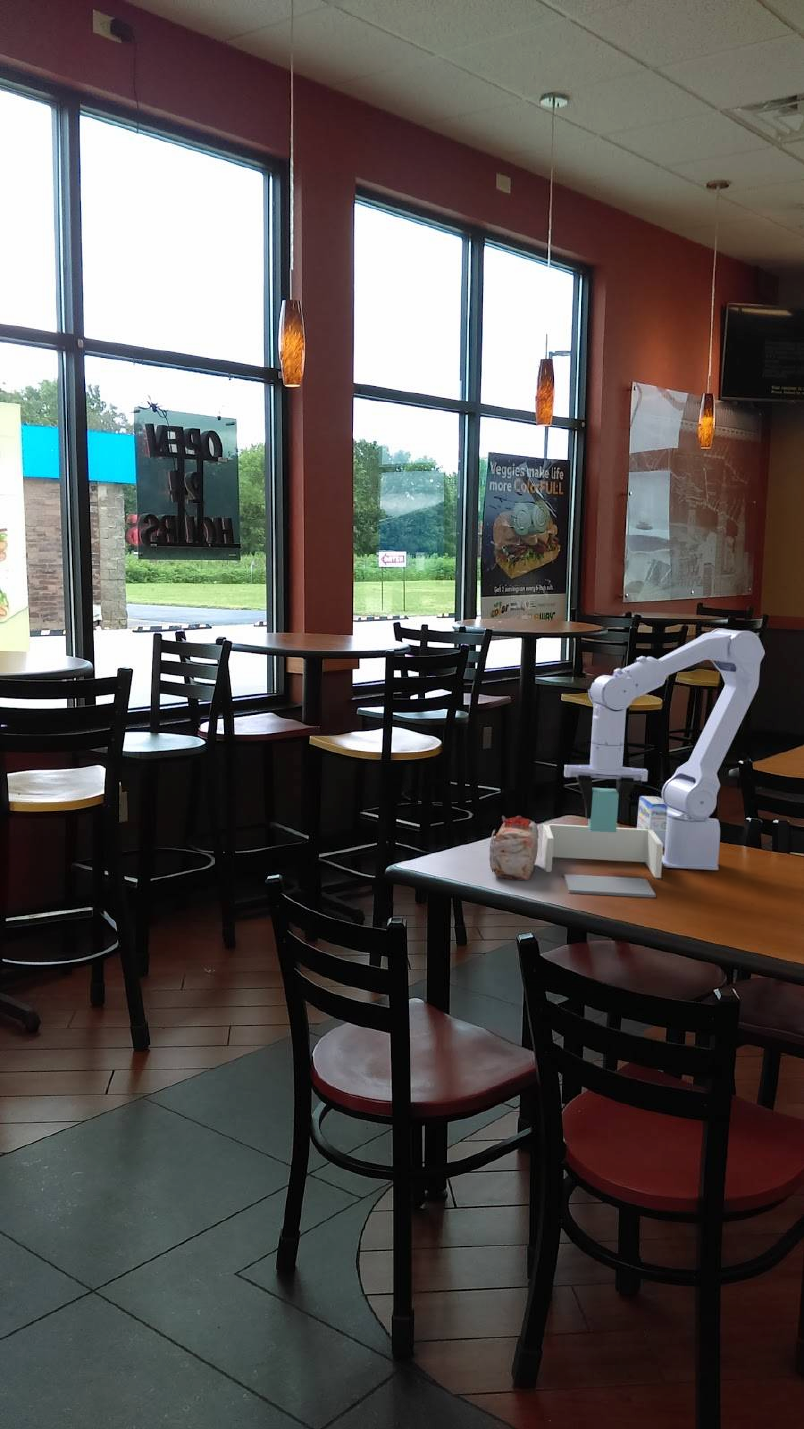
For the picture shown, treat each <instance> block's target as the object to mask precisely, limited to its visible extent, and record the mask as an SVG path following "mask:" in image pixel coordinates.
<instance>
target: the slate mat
mask: <svg viewBox="0 0 804 1429" xmlns="http://www.w3.org/2000/svg"><path fill="white" fill-rule="evenodd" d="M563 878H564V881H565V883H566V884H565V885H566V888H567V890H568V893H569V894H581V895H582V894H584V895H585V894H586V895H601V896H602V895H603V896H604V895H605V896H615V897H617V896H618V897H637V898H638V897H639V898H640V897H641V898H656V896H657V895H656V893H655V891H654V890H653V887H652V886H651V885H650V883H649V881H648V879H647V878H637V877H621V876H607V875H606V876H604V875H603V876H602V875H600V876H599V875H588V874H587V875H584V874H569V873H567V874H565V873H564V877H563Z"/></svg>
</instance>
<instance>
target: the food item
mask: <svg viewBox="0 0 804 1429" xmlns="http://www.w3.org/2000/svg"><path fill="white" fill-rule="evenodd" d="M501 819H502V822H503V823H502V824H501V827H500V828H499V829H498V832H497V833H496V829H494V830H493V831H492V833H491V836H490V843H489V857H488V858H489V867H490V870H491V872H492V873H493V874H494V876H497V877H500V878H502V879H503V878H504V879H510V878H512V879H511V880H518V879H519V880H520V881H529V879H530V876H531V875H532V873H533V872H534V867H535V864H536V861H537V858H538V851H539V850H538V849H539V847H538V846H539V840H538V839H539V838H540V837H539V829H538V823H537V822H536V823H535V821H534V820H532V819H531V820H530V819H528V818H524V817H523V816H521V815H517V816H515V817H509V818H507V817H505V816H504V815H502V816H501ZM495 833H496V834H495Z"/></svg>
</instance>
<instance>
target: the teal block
mask: <svg viewBox="0 0 804 1429" xmlns="http://www.w3.org/2000/svg"><path fill="white" fill-rule="evenodd" d="M618 797H619V793H618V792H617V788H607V787H606V788H603V787H602V788H601V787H592V797H591V819H587V820H588V822H587V826H588V827H589V829H590V831H598V832H616V828H618V827H617V826H618V825H617V824H618V820H617V812H618Z"/></svg>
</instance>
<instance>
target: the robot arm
mask: <svg viewBox="0 0 804 1429" xmlns="http://www.w3.org/2000/svg"><path fill="white" fill-rule="evenodd" d="M765 654H766V652H765V649H764V646H763V645H762V642H761V639H760V637H759V636H758V634H756V633H755V632H753V631H750V630H733V629H727V628H719V627H718V628H715V629H713V630H712V631H711V632H709V631H708V632H705V633H702V634H701V635H700V636H698V637H697V638H694V639H693V640H691V641H689V642H688V643H686V644H684V645H682V646H680V647H678V648H676V649H674V650H673V651H671V652H669V653H667V654H665V655H664V656H662V657H660V658H654V657H653V656H647V657H646V656H643V655H641V656H639V657H636V662H634V663H632V664H630V665H628V666H625V667H624V668H620V667H617V668H616V669H614V670H613V674H612V675H609V674H608V675H607V674H602V675H600V676H598V677H597V678H595V680H594V682H592V684H591V686H590V688H589V689H587V694H588V698H589V700H590V702H591V703H592V706H593V710H592V721H591V722H592V726H591V739H590V742H591V743H590V755H589V756H590V758H589V764H564V765H563V766H564V770H563V776H564V778H576V780H577V784H578V786H579V789H580V791H581V792H580V793H581V794H582V799H583V802H584V809H585V818H586V819H587V820H588V819H591V797H592V788H594V787H593V785H594V784H593V779H607V780H608V779H609V780H616V790H617V792H618V793H619V797H618V812H617V821H620V820H621V815H622V812H623V809H624V806H625V803H626V801H627V799H628V797H629V795H630V793H631V792H632V790H633V789H634V786H635V782H634V781H641V782H648V776H649V775H648V774H649V770H647V768H636V767H626V766H623V765H624V764H623V761H624V760H623V759H624V749H625V747H624V746H625V745H624V744H625V729H626V715H627V709H628V708H629V707H630V705H631V704H632V702H633V701H634V700H635V699H637V698H639V697H642V696H643V695H645V694H648V693H650V692H652V691H654V690H656V689H658V688H660V687H662V686H663V685H664V684H665V683H666V682H665V681H666V679H667V677H668V676H669V675H672V674H674V673H677V672H679V671H682V670H684V669H686V668H689V667H692V666H694V665H695V664H697V663H701V662H703V661H706V660H707V661H708V660H709V661H710V662H711V663H712V664H713V665H714V667H715V668H716V669H717V671H719V673H720V674H721V677H722V680H723V682H724V687H723V689H722V690H721V693H720V694H719V697H718V699H717V700H716V703H715V706H714V707H713V708H712V711H711V713H710V715H709V717H708V719H707V721H706V724H705V726H704V727H703V730H702V732H701V734H700V736H699V738H698V740H697V742H696V744H695V747H694V749H693V750H692V753H691V755H690V756H689V759H688V761H686V762H685V763H683V764H682V765H680V766H678V767H677V768H676V770H675V772H674V774H672V776H671V778H669V779H668V780H666V782H665V783H664V784H663V786H662V789H661V799H662V800H663V802H664V804H665V805H666V806H667V824H666V838H665V847H664V851H663V852H664V854H662V865H664V867H665V868H667V869H668V868H671V869H685V870H686V869H688V870H705V871H719V854H720V841H721V827H720V826H721V825H720V821H719V819H717V818H711V817H710V816H711V815H712V814H713V812H715V809H716V806H717V802H718V801H717V798H718V797H717V796H718V792H719V790H720V788H721V783H720V780H719V777H718V771H719V769H720V767H721V765H722V762H723V761H724V758H725V757H726V755H727V753H728V751H729V749H730V747H731V745H732V742H733V740H734V738H735V736H736V734H737V732H738V729H739V727H740V725H741V724H742V721H743V719H744V718H745V715H746V714H747V711H748V709H749V707H750V705H751V703H752V701H753V699H754V698H755V694H756V692H757V690H758V688H759V685H760V684H759V683H760V669H761V662H762V660H763V658H764V656H765Z"/></svg>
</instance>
